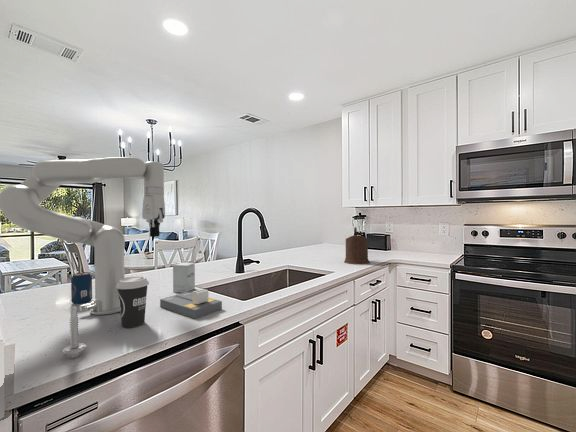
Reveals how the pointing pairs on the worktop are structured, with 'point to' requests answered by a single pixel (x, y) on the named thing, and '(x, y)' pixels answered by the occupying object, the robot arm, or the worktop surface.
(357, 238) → the dark brown bell
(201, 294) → the fader knob
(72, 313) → the screw
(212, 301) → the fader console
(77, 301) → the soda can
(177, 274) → the supplement box
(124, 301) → the coffee cup
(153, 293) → the worktop surface
